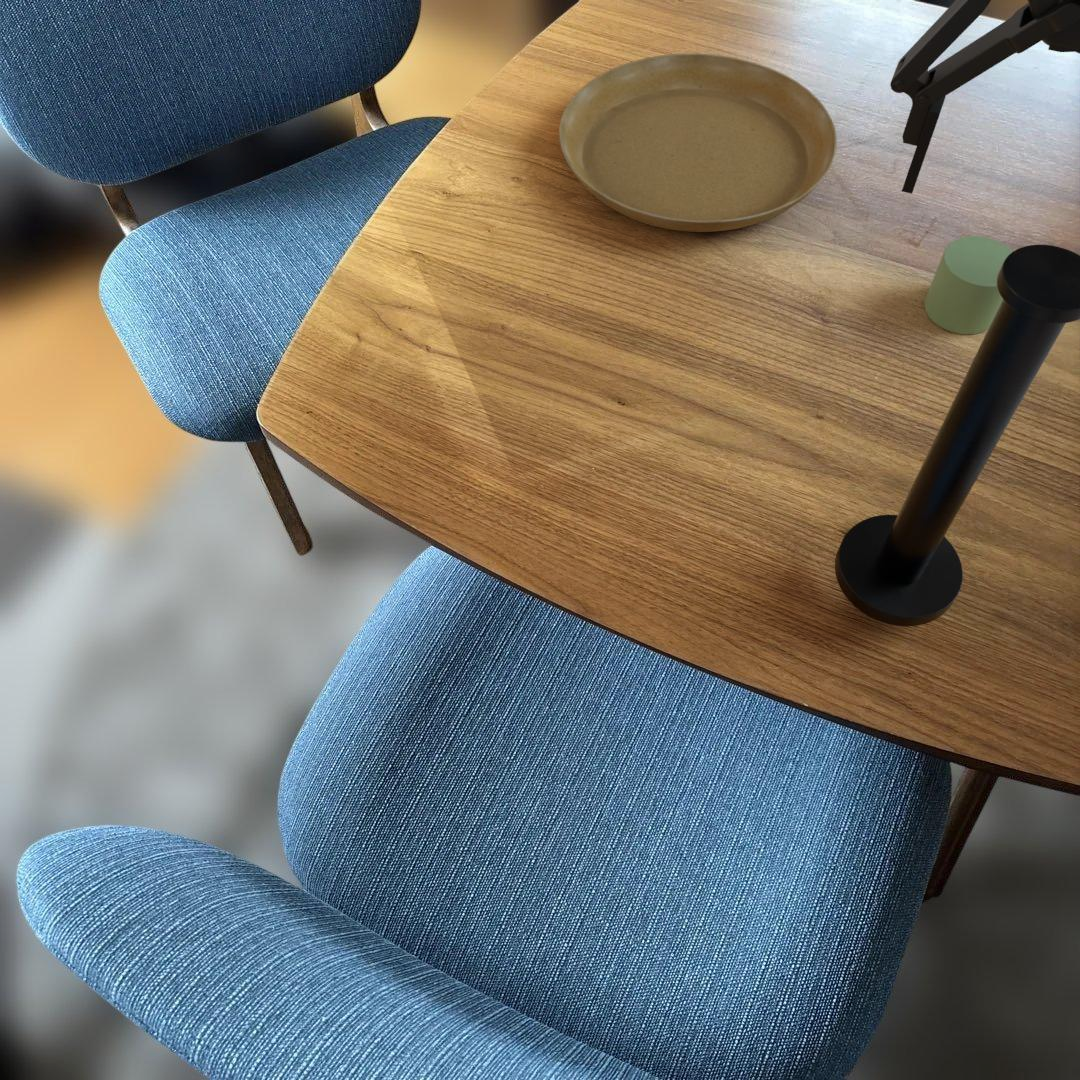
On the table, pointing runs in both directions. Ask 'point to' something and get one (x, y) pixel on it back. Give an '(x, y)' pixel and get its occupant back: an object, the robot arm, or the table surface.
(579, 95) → the plant saucer
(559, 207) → the table surface
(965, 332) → the sage green cylinder
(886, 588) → the stand
